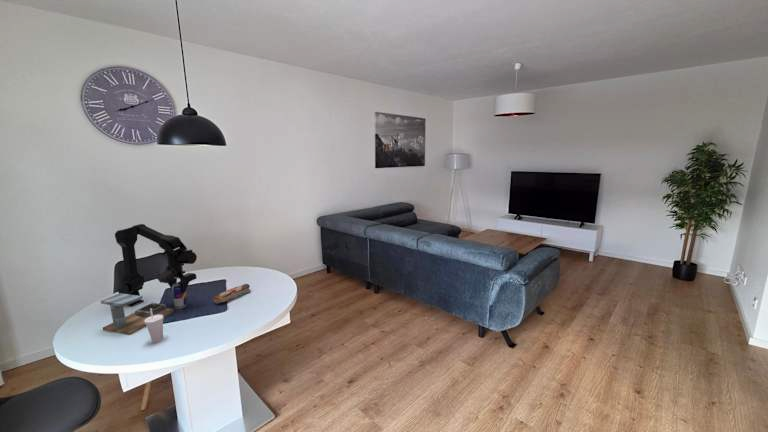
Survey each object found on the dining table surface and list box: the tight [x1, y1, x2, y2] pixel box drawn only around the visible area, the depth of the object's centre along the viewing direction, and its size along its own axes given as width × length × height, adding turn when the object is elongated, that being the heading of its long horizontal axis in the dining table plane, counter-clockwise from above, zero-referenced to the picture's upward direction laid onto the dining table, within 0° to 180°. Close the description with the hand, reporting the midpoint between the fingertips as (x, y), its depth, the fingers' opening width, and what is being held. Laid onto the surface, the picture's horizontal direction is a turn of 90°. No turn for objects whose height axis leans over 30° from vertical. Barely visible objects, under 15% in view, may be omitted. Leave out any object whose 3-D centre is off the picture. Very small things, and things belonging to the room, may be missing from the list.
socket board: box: [100, 293, 175, 336], centre depth 145 cm, size 16×21×14 cm
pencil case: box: [213, 283, 251, 305], centre depth 169 cm, size 11×20×5 cm, turn 138°
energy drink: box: [171, 283, 188, 310], centre depth 158 cm, size 5×5×12 cm
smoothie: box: [145, 308, 165, 343], centre depth 129 cm, size 6×6×14 cm
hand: (179, 292), depth 158 cm, fingers closed on energy drink, 5 cm apart
